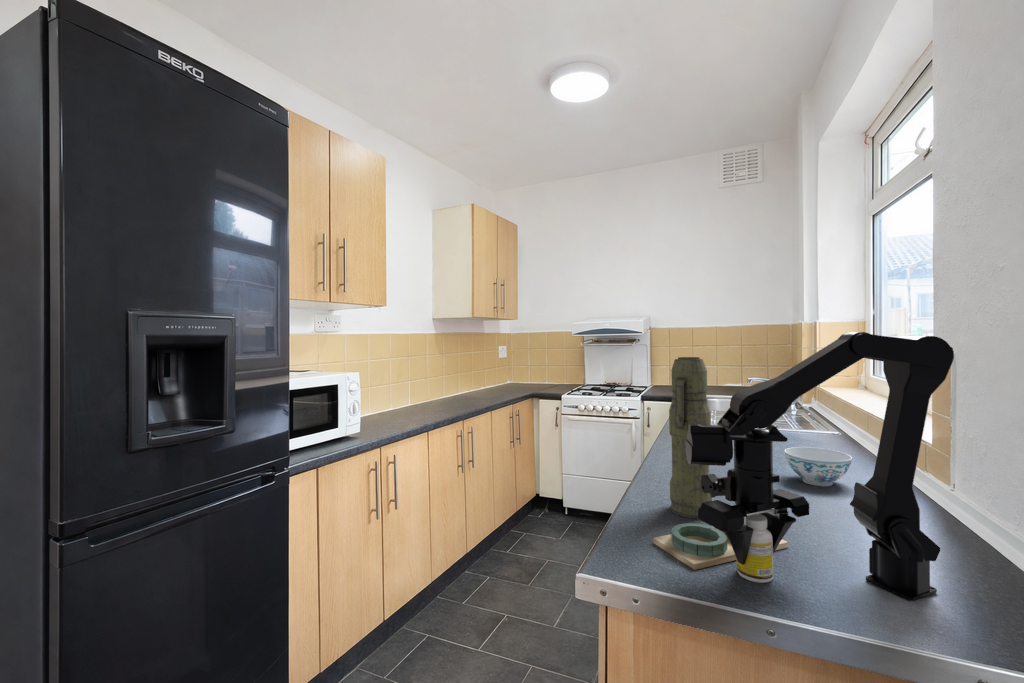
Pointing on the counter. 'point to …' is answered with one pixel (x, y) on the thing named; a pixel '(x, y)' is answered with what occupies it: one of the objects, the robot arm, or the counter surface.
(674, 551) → the socket board
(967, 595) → the counter surface
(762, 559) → the supplement bottle
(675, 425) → the thermos
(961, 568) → the counter surface
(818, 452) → the chinaware
